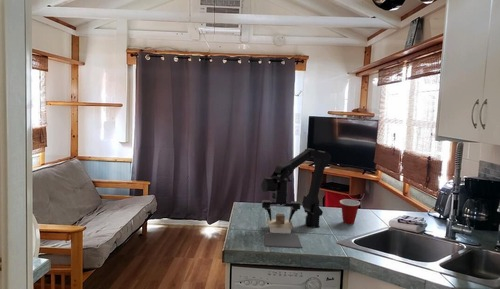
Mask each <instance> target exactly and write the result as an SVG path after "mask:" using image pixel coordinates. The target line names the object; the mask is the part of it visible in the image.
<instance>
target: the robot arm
mask: <svg viewBox="0 0 500 289" xmlns="http://www.w3.org/2000/svg"><path fill="white" fill-rule="evenodd" d="M331 157H332V156H331V155H330V153H329V152H328V151H322V150H316V149H313V148H305V149H304V150H303V151H302V152H301V153H298V155H296V156H294V157H293V158H292V159H290V160H289V161H285V162H282V163H279V164H278V165H276V167H275V168H274V171H273V172H272V174H271V175H270V177H264V178H263V180H262V182H261V190H262V192H264V193H270V192H272V193H271V200H274V202H273V201H271V200H270V199H263V200H262V201H261V207H262V209H264V210H265V211H266V212H267V213H268V217H269V218H268V219H270V221H271V219H272V210H271V207H282V208H283V207H286V208H290V210H289V211H290V212H289V214H288V216H289V217H288V220H289V222H290V221H291V222H292V219H293V217H294V214H295V213H296V212H298V210H301V207H302V208H303V210H304V213H306V215H305V217H304V218H305V221H304V224H305V225H306V227H308V228H320V217H321V216H322V215H323V214H324V212H323V210H322V209H321V208H320V200H319V193H320V189H321V185H322V180H323V175H324V172H325V169H326V168H327V167H328V165H329V163H330V161H331ZM309 159H313V165H314V170H313V172H312V173H313V174H312V177H311V182H310V186H309V190H308V194H307V195H306V196H305V195H303V197H302V202H301V203H300V202H299V201H297V200H296V201H295V200H293V201H292V200H291V202H288V191H289V190H288V189H289V187H288V186H289V185H288V184H289V183H291V182H293V180H292V179H291V178H290V177H291V175H292V174H293V173H294V171H295V169H297V168H298V167H299V166H301V165H302V164H304V163H306V161H309ZM301 204H302V205H301Z"/></svg>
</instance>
